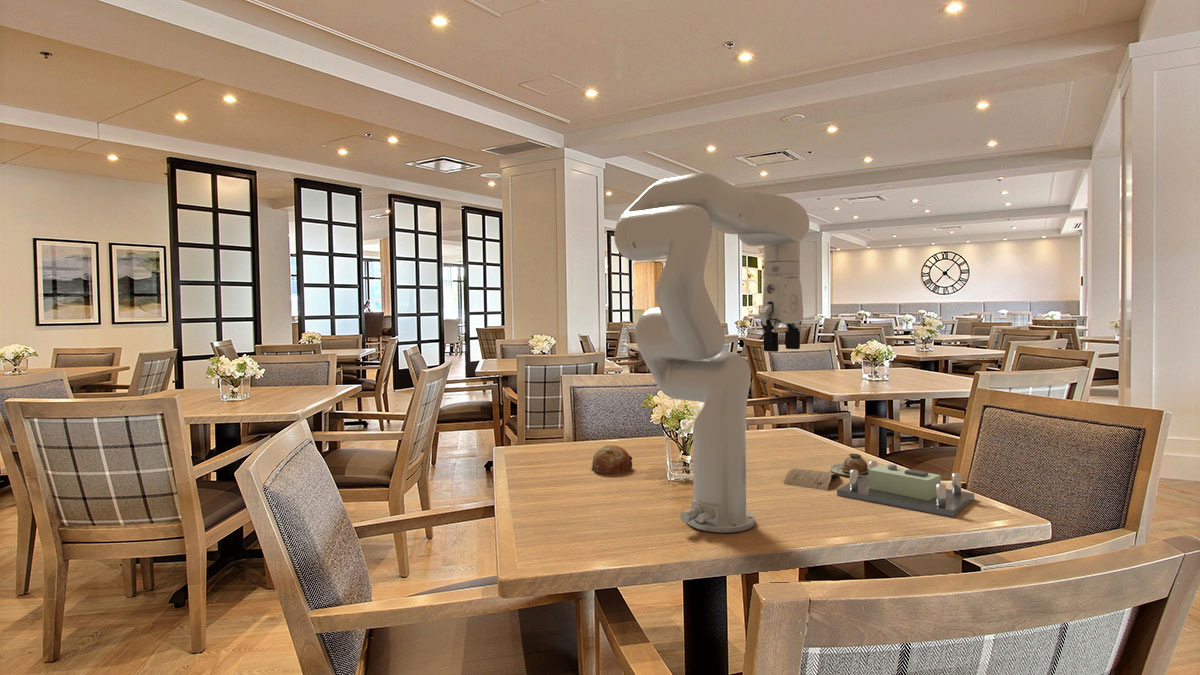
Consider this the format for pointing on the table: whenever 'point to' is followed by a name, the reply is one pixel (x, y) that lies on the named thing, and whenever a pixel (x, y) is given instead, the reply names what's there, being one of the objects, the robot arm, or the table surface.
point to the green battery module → (903, 481)
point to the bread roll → (611, 460)
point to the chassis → (942, 504)
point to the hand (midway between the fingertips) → (782, 350)
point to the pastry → (851, 465)
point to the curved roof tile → (809, 478)
